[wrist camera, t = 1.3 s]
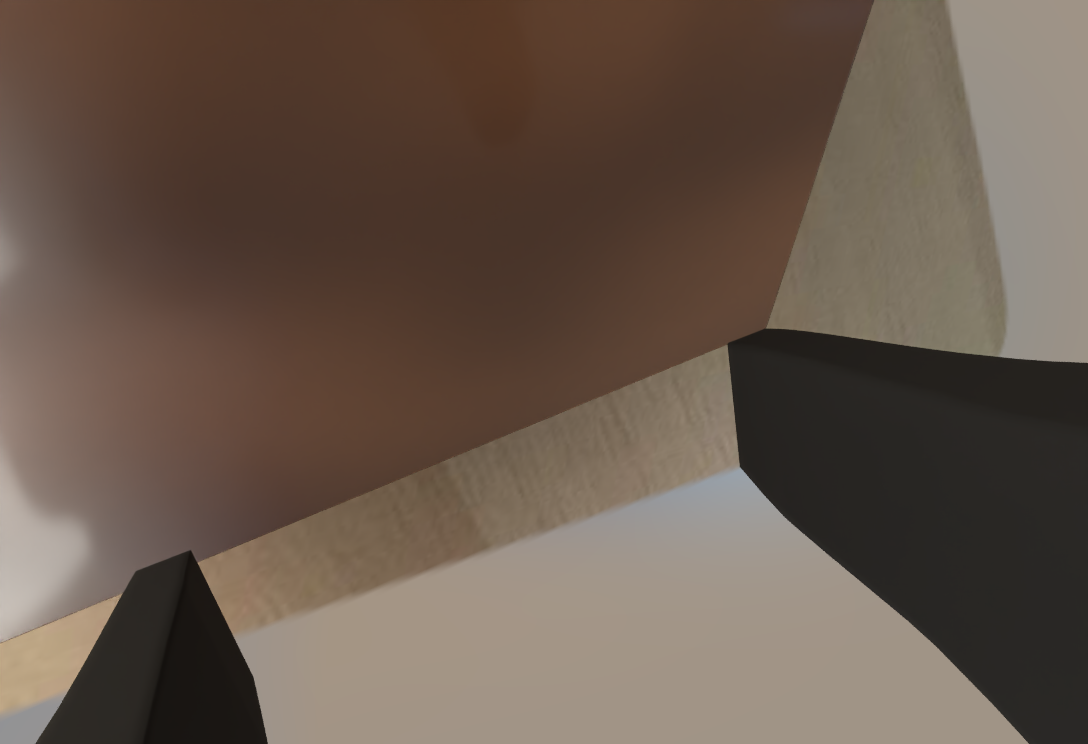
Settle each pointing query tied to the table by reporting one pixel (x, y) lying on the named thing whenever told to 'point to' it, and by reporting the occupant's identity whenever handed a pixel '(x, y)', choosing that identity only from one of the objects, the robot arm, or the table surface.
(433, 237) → the lid
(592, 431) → the table surface
